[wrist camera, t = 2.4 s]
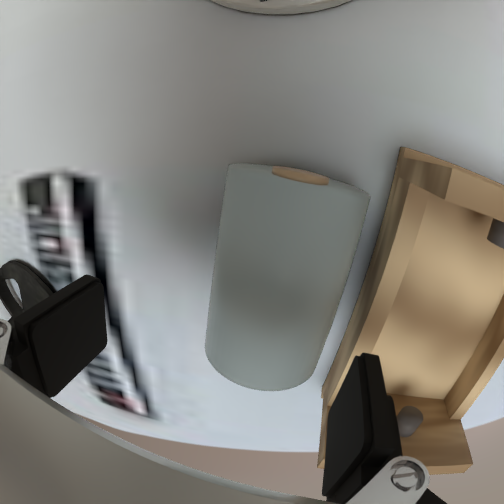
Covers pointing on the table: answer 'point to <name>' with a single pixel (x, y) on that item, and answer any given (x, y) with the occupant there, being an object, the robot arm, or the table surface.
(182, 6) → the table surface
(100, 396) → the table surface
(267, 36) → the table surface
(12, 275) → the holder
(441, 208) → the cradle
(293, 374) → the roll
